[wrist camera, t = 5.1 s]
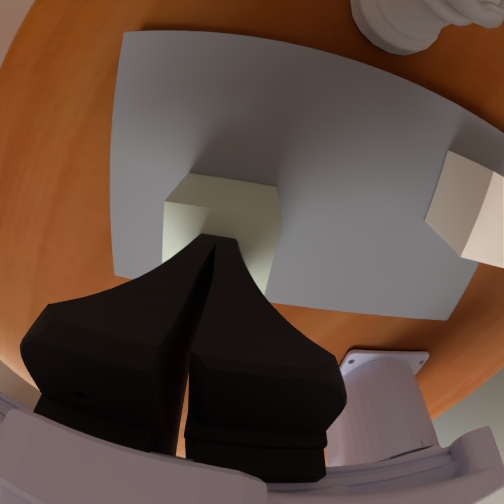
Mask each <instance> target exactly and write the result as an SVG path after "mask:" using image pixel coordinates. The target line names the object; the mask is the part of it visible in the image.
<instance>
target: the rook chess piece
mask: <svg viewBox="0 0 504 504" xmlns="http://www.w3.org/2000/svg"><path fill="white" fill-rule="evenodd" d="M350 2H351V10H352V17H353V19H354V20H355V22H356V24H357V26H358V28H359V30H360V32H361V33H363V34H364V35H365V36H366V37H367V38H368V39H369V40H370V41H371V42H372V43H373V44H374V45H376V46H377V47H379V48H381V49H383V50H385V51H387V52H389V53H393V54H399V55H404V56H405V55H409V54H413V53H417V52H419V51H422V50H426V49H427V48H428V47H429V46H430V45H431V44H432V43H433V42H434V41H435V40H437V37H438V34H439V33H440V31H441V28H443V27H445V26H447V25H449V24H454V25H457V26H466V25H470V24H471V23H472V22H473V23H475V24H478V25H480V26H482V27H485V28H498V27H499V26H500V25H501V23H502V22H503V21H504V0H351V1H350Z"/></svg>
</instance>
